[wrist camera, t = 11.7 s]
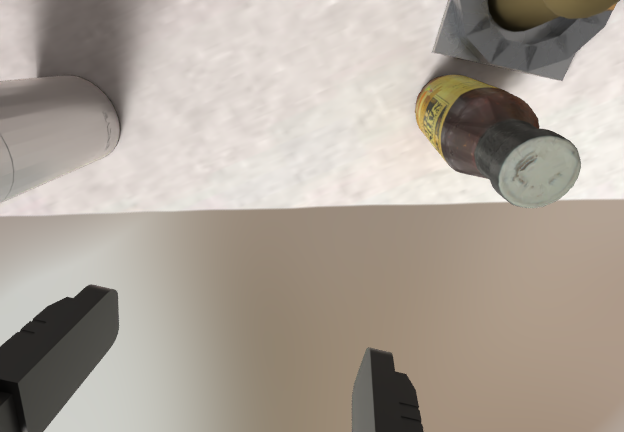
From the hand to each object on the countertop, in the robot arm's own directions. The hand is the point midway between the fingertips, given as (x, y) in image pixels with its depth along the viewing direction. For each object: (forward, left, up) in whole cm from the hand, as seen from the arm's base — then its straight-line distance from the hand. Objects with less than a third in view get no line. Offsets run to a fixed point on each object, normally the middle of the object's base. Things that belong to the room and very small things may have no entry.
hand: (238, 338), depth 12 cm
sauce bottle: (+12, +5, -30) cm, 33 cm away
